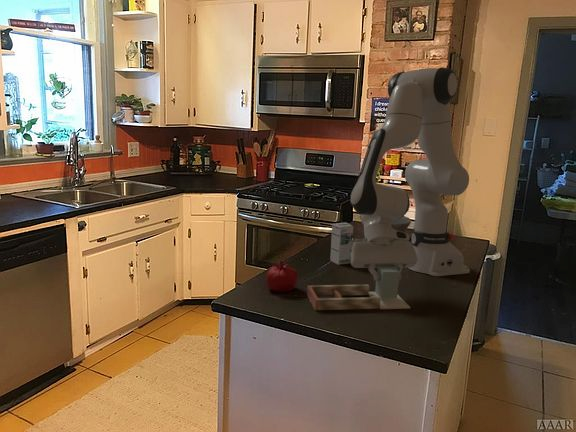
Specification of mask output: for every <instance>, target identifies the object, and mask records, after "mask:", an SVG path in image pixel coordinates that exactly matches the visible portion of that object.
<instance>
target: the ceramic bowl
mask: <svg viewBox="0 0 576 432" xmlns="http://www.w3.org/2000/svg"><path fill="white" fill-rule="evenodd" d="M359 219H360V221H361V223H362V220H361V214H359ZM411 223H412V219H411V218H409V217H408V216H406V215H404V216H403V217H401V218H400V219H398V220H397V221H395V222H392V223H391V227H392V228H393V229H395V230H398V231H401V232H404V233H406V232H405V231H407V230H408V228H409V227H410V225H411ZM362 226H363V227H364V225H363V223H362Z"/></svg>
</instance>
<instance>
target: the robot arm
mask: <svg viewBox="0 0 576 432" xmlns="http://www.w3.org/2000/svg"><path fill="white" fill-rule="evenodd" d="M457 90H458V78H457V74H456V73H455V71H453V69H452V68H448V67H439V68H435V67H434V68H431V67H430V68H429V67H428V68H427V67H425V68H419V69H415V70H409V71H401V72H397V73H395V74H393V75H392V76H391V78H390V79H389V81H388V84H387V93H388V94H387V95H388V98H389V100H388V104H387V108H386V113H385V118H384V121H383V125H382V126H381V128H379V129H377V130H376V131H374V133H373V135H372V136H371V138H370V141H369V143H368V146H367V149H366V152H365V155H364V157H363V161H362V164H361V167H360V171H359V174H358V177H357V180H356V181H355V184H354V186H353V187H352V190H351V193H350V198H349V201H350V202H349V203H350V204H351V206H352V208H353V210H354V211H355V213H356V214H358V215H361V219H360V221H361V220H362V221H361V223H363V224H362V226H363V225H364V226H363V235H364V238H353V239H352V240H350V241H349V242H348V246H349V250H350V251H351V255H350V256H351V263H350V264H351V266H352V267H353V268H355V269H359V268H360V269H364V268H365V269H366V268H368V272H369V273H370V274H371V275H372V276H373V280H374V281H375V282H376V281H379V280H380V279H381V277H380V273H377V270H376V268H377V267H395V268H396V269H397V270H398V271H399V272H400V275H399V281H401V280H402V274H401V273H402V271H403V268H406V269H409V270H412V271H413V272H418V273H421V274H427V275H430V276H434V277H445V276H453V275H464V274H470V273H471V270H470V268H469V267H468V266H467V265H466V264H465V261H464V254H463V253H462V252H461V251H460V250H459V249H458V248H457V247H455V246H454V244H452V242H450V240H451V241H454V240H455V239H456V238H457V237H456V235H455V234H453V233H449V232H448V231H447V226H448V224H447V222H448V217H449V211H448V208H447V206H446V205H445V204H444V203H443V200H442V199H441V195H442V196H459V195H462V194H463V193H465V191H466V190H467V188H468V187H469V184H470V183H469V182H470V175H469V174H470V173H469V172H468V171H467V169H466V168H465V167H464V166H463V164H461V162H460V160H459V158H458V157H457V154H456V152H455V151H456V150H455V149H454V145H453V136H452V113H451V112H452V111H451V105H450V104H451V103H450V101H452V100H453V98H454V97H455V95H456V94H457ZM416 140H417V144H418V147H419V149H420V150H421V151H422V152H423V154H424V155H425V157H426V158H427V159H417V160H412V161H410V162H409V163H408V164H407V166H406V168H405V170H404V179H405V181H406V182H407V185H409V187H410V189H411V191H412V195H413V200H414V208H415V212H414V224H413V225H414V227H413V228H412V232H411V237H410V234H409V233H407V232H401V231H398V230H395V229H393V228H392V227H391V223H392V222H395V221H397V220H398V219H400V218H401V217H403V216H406V214H407V213H408V212H409V210H410V204H411V203H410V202H411V201H410V197H409V193H408V192H407V190H406V189H404V188H400V187H396V186H392V185H386V184H381V183H377V177H378V173H379V170H380V168H381V165H382V160H383V158H384V156H385V155H386V153H388V152H389V151H390V150H394V149H400V148H404V147H407V146H410V145H411V144H413V143H414V142H415V141H416ZM410 238H411V241H410ZM351 241H352V242H351Z"/></svg>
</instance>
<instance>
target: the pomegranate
mask: <svg viewBox="0 0 576 432" xmlns="http://www.w3.org/2000/svg"><path fill="white" fill-rule="evenodd" d="M283 262H284V260H279V263H278V264H279V266H278V265H277V264H271V266H272V267H271V268H269V269H268V270H267V272H266V274H265V281H266V285H267V288H268V289H269V290H270V291H271V292H275V293H287V292H288V293H289V292H291V291H293V290H294V289H295V288H296V286H297V284H298V282H299V273H298V272H297V270H296V269H295V268H294V267H293V266H291V265H290V263H286V264H285V265H283V264H284V263H283ZM288 265H289V266H288Z"/></svg>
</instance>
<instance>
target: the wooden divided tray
mask: <svg viewBox="0 0 576 432" xmlns="http://www.w3.org/2000/svg"><path fill="white" fill-rule="evenodd" d="M311 287H312V289H313V290H314V292H315V294H316V295H333V290H337V291H338V292H339V294H340V295H341V297H342V298H318V299H319V310H318V311H333V310H334V311H336V310H337V311H338V310H339V311H340V310H341V311H342V310H371V309H372V310H373V309H374V310H375V309H379V310H381V309H380V301H381V298H380V297H370V296H369V295H368V294H369V292H370V285H369V284H368V283H367V284H364V283H363V284H323V285H322V284H316V285H314V284H313V285H312V284H311ZM345 296H367V297H345Z"/></svg>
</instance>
